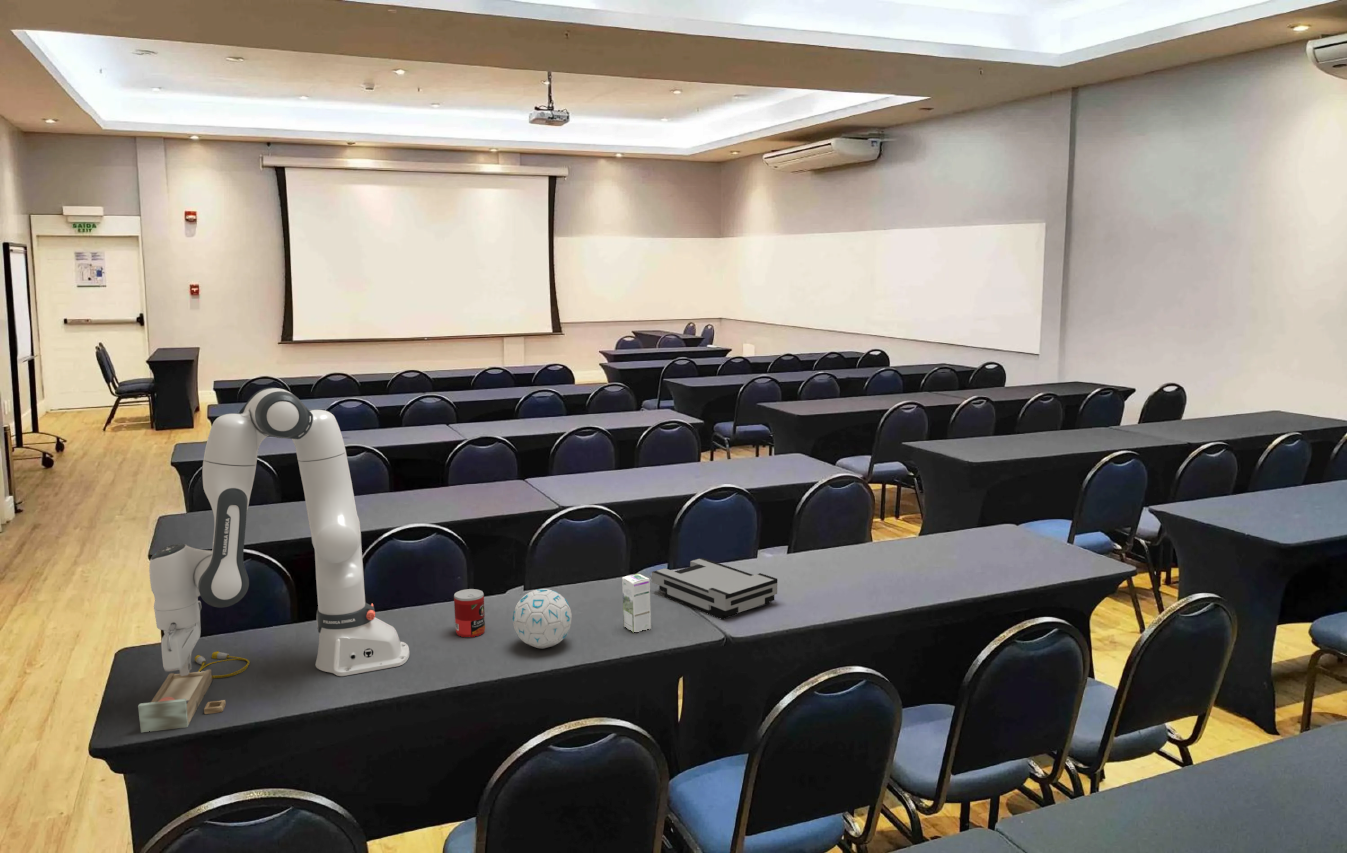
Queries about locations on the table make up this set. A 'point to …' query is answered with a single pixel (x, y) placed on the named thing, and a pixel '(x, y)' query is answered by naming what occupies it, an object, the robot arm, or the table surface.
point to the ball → (166, 699)
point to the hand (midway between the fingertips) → (185, 673)
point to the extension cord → (220, 655)
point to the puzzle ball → (542, 618)
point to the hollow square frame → (214, 707)
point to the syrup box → (636, 602)
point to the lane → (175, 702)
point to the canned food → (469, 612)
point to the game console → (716, 588)
